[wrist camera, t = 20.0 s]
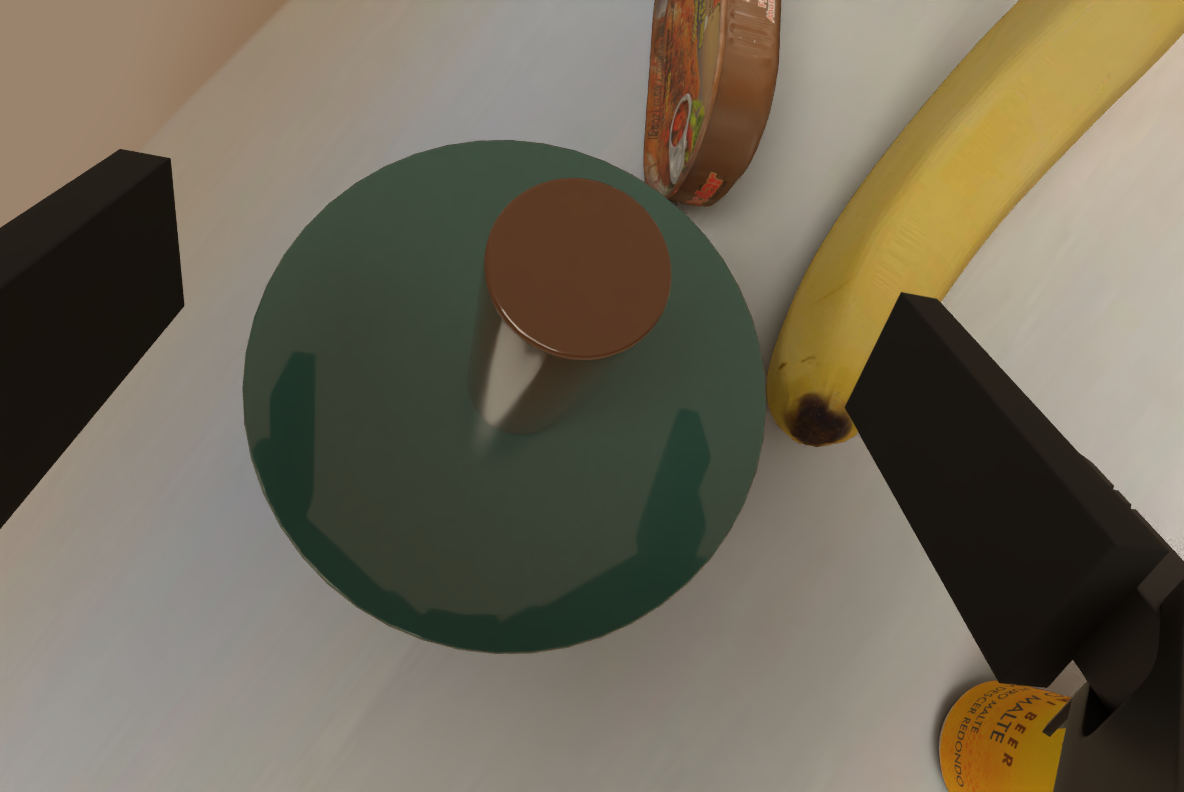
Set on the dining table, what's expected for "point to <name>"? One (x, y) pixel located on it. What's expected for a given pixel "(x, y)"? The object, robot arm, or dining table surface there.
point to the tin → (708, 94)
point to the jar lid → (504, 397)
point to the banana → (954, 187)
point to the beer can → (1001, 740)
